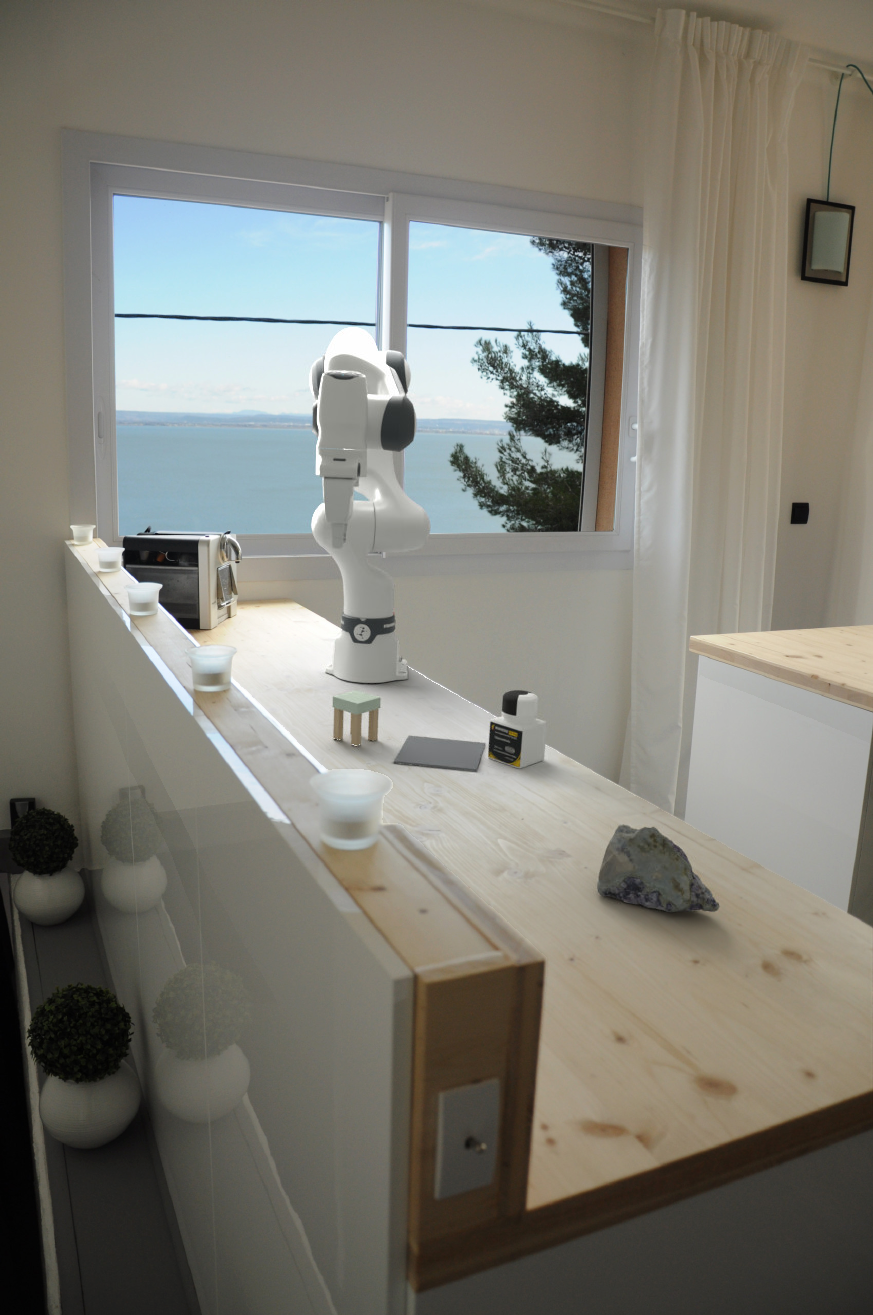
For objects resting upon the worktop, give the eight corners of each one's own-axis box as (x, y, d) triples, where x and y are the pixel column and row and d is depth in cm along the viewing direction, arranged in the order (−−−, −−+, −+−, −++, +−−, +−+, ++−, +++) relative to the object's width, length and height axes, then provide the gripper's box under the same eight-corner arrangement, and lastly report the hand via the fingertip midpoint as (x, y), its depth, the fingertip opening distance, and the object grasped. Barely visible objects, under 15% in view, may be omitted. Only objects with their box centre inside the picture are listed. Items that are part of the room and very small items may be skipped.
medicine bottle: (486, 758, 164) (491, 691, 161) (512, 749, 169) (517, 685, 166) (519, 769, 159) (524, 701, 156) (544, 760, 164) (550, 694, 162)
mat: (408, 737, 173) (408, 735, 173) (485, 745, 171) (485, 742, 171) (393, 763, 159) (393, 760, 159) (476, 771, 157) (476, 769, 157)
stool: (331, 739, 170) (332, 696, 168) (354, 732, 174) (356, 690, 172) (356, 747, 166) (357, 703, 164) (379, 739, 171) (380, 697, 169)
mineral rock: (722, 925, 112) (732, 846, 109) (647, 941, 107) (657, 859, 105) (655, 877, 123) (663, 804, 121) (585, 889, 119) (592, 815, 116)
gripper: (327, 464, 175) (326, 539, 178) (318, 466, 155) (316, 550, 158) (362, 466, 175) (359, 541, 178) (356, 467, 155) (354, 552, 158)
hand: (339, 545), depth 168 cm, fingers open, 8 cm apart
